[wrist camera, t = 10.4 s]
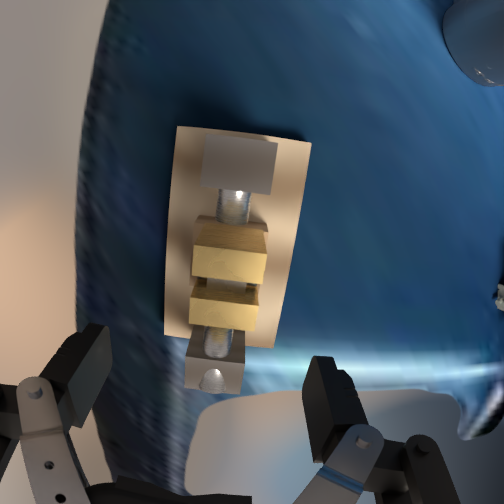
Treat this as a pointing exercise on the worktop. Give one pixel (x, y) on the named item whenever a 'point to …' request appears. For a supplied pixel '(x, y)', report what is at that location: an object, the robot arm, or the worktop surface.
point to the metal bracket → (500, 297)
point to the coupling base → (259, 210)
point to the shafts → (215, 338)
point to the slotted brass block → (227, 276)
